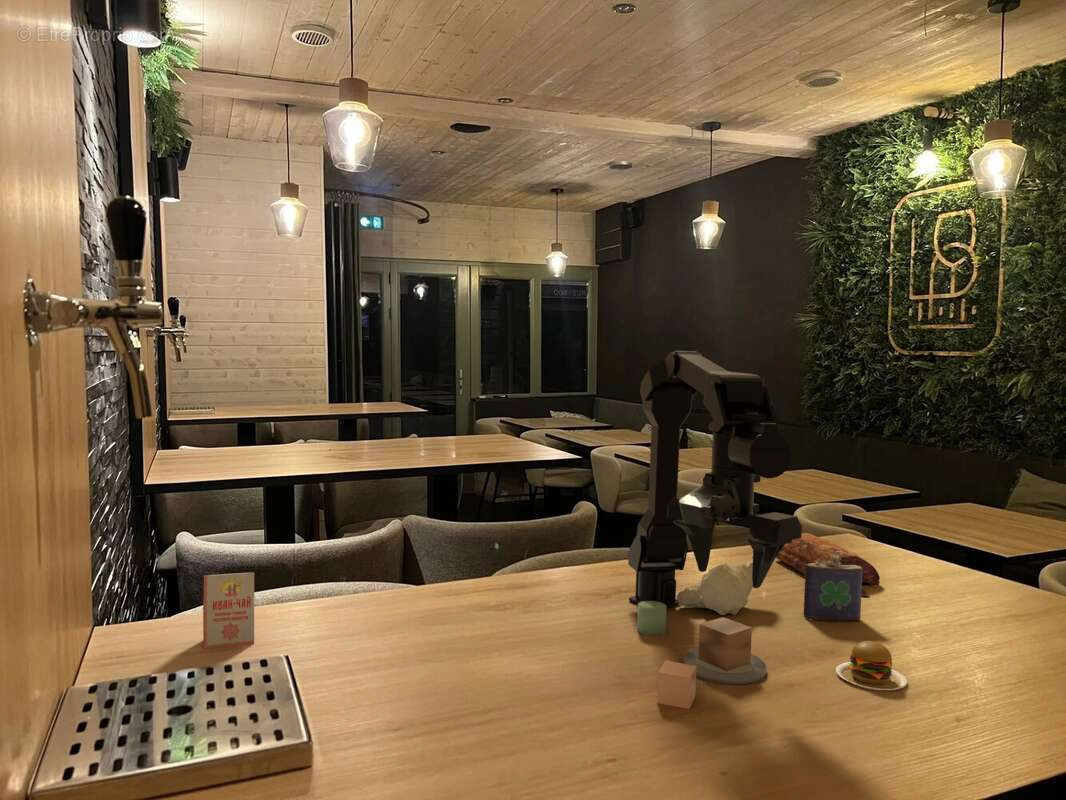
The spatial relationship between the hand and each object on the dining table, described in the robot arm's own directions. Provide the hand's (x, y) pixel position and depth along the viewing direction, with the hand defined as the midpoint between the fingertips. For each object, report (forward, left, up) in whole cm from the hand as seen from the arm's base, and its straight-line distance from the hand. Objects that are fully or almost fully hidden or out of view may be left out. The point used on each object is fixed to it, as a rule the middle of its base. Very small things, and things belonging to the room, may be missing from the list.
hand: (728, 579), depth 109 cm
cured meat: (-18, +52, -13) cm, 56 cm away
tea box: (-47, -53, -13) cm, 72 cm away
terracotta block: (+3, -13, -13) cm, 18 cm away
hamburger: (+13, +14, -13) cm, 24 cm away
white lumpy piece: (-17, +21, -13) cm, 30 cm away
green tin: (-16, +2, -13) cm, 21 cm away
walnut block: (0, 0, -12) cm, 12 cm away
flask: (-3, +31, -13) cm, 34 cm away
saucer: (0, 0, -13) cm, 13 cm away
